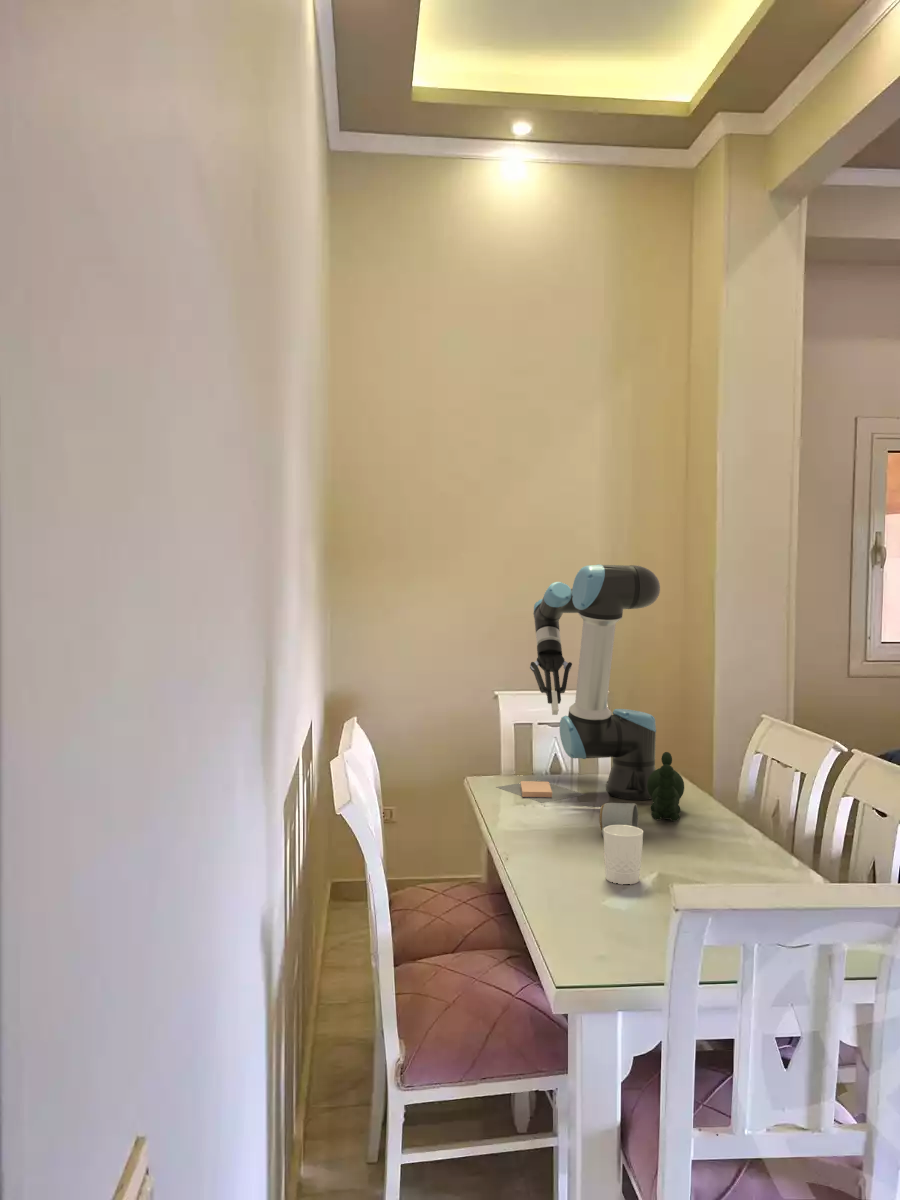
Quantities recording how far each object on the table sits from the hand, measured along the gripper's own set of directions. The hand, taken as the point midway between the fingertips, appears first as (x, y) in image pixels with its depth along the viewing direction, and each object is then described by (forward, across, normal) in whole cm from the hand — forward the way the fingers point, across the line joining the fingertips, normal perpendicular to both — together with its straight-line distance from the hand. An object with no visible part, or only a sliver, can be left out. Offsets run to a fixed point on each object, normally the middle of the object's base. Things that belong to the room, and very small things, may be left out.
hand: (555, 712), depth 263 cm
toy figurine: (+39, -23, +16) cm, 48 cm away
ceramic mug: (+49, -6, +30) cm, 58 cm away
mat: (+25, +6, -1) cm, 26 cm away
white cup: (+67, 0, +53) cm, 86 cm away
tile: (+21, +7, -4) cm, 22 cm away
